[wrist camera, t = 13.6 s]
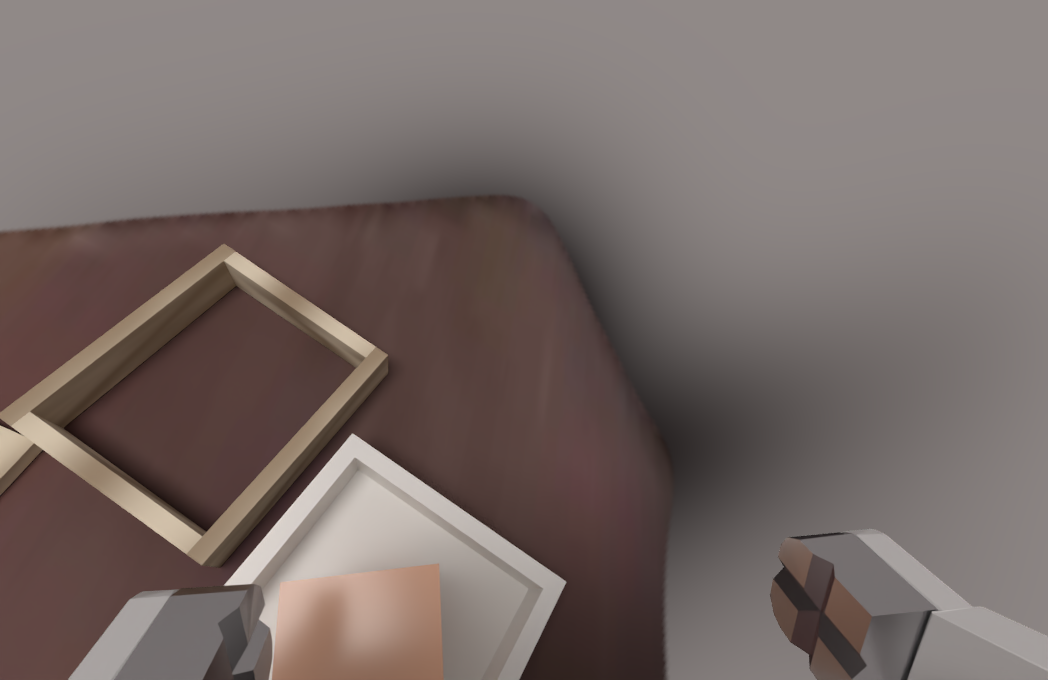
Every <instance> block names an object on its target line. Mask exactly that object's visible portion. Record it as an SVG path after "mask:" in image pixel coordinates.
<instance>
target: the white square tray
mask: <svg viewBox="0 0 1048 680" xmlns="http://www.w3.org/2000/svg"><path fill="white" fill-rule="evenodd" d="M430 564H439V574H440V600H441V626H442V652H443V677H444V680H519V679H520V677H521V675H522V673H523V671H524V669H525V667H526V664H527V662H528V660H529V658H530V656H531V654H532V652H533V650H534V648H535V646H536V644H537V642H538V640H539V638H540V636H541V633H542V631H543V629H544V627H545V625H546V623H547V621H548V619H549V617H550V615H551V613H552V611H553V609H554V607H555V605H556V603H557V600H558V598H559V596H560V594H561V592H562V590H563V588H564V586H565V584H566V581H564V580H563V579H562V578H560V577H559V576H557V575H556V574H554V573H553V572H551V571H550V570H549V569H547V568H546V567H544V566H543V565H541V564H540V563H539V562H537V561H536V560H534V559H533V558H531V557H530V556H528V555H527V554H526V553H524V552H523V551H521V550H520V549H518V548H517V547H515V546H514V545H513V544H511V543H510V542H508V541H507V540H505V539H504V538H502V537H501V536H500V535H498V534H497V533H495V532H494V531H492V530H491V529H490V528H488V527H487V526H485V525H484V524H482V523H481V522H479V521H478V520H477V519H475V518H474V517H472V516H471V515H469V514H468V513H466V512H465V511H464V510H462V509H461V508H459V507H458V506H456V505H455V504H453V503H452V502H451V501H449V500H448V499H446V498H445V497H443V496H442V495H441V494H439V493H438V492H436V491H435V490H433V489H432V488H430V487H429V486H428V485H426V484H425V483H423V482H422V481H420V480H419V479H417V478H416V477H415V476H413V475H412V474H410V473H409V472H407V471H406V470H405V469H403V468H402V467H400V466H399V465H397V464H396V463H394V462H393V461H392V460H390V459H389V458H387V457H386V456H384V455H383V454H381V453H380V452H379V451H377V450H376V449H374V448H373V447H371V446H370V445H368V444H367V443H366V442H364V441H363V440H361V439H360V438H358V437H357V436H356V435H354V434H353V433H352V435H351V436H350V437H349V438H348V439H347V441H346V442H345V443H344V444H343V445H342V446H341V448H340V449H339V450H338V451H337V452H336V454H335V455H334V456H333V457H332V458H331V459H330V461H329V462H328V463H327V464H326V465H325V467H324V468H323V469H322V470H321V471H320V473H319V474H318V475H317V476H316V477H315V478H314V480H313V481H312V482H311V483H310V484H309V486H308V487H307V488H306V489H305V490H304V491H303V493H302V494H301V495H300V496H299V497H298V499H297V500H296V501H295V502H294V503H293V504H292V506H291V507H290V508H289V509H288V510H287V512H286V513H285V514H284V515H283V516H282V517H281V519H280V520H279V521H278V522H277V523H276V525H275V526H274V527H273V528H272V529H271V531H270V532H269V533H268V534H267V535H266V536H265V538H264V539H263V540H262V541H261V542H260V544H259V545H258V546H257V547H256V548H255V549H254V551H253V552H252V553H251V554H250V555H249V557H248V558H247V559H246V560H245V561H244V562H243V564H242V565H241V566H240V567H239V568H238V570H237V571H236V572H235V573H234V574H233V575H232V577H231V578H230V579H229V580H228V581H227V583H226V584H225V585H224V586H228V585H244V584H256V585H259V586H261V589H262V593H263V597H264V601H265V606H264V609H263V611H262V613H261V616H260V618H259V620H260V621H262V622H263V623H264V624H265V625H267V626H268V627H269V628H270V631H271V637H272V664H271V669H270V675H269V680H272V671H273V660H274V648H275V636H276V625H277V613H278V602H279V590H280V582H286V581H295V580H303V579H312V578H320V577H329V576H337V575H346V574H354V573H363V572H371V571H380V570H388V569H397V568H405V567H413V566H422V565H430Z"/></svg>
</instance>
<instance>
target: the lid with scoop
mask: <svg viewBox="0 0 1048 680" xmlns="http://www.w3.org/2000/svg"><path fill="white" fill-rule="evenodd" d="M42 450H43V449H41V448H40V447H39V446H37V445H36V444H35V443H33V442H32V441H30V440H29V439H28V438H26V437H25V436H23V435H21V434H19V433H16V432H14V431H12V430H10V429H7V428H5V427H3V426H1V425H0V495H1V494H2V493H3V492H4V491H5V490H6V489H7V488H8V487H9V486H10V485H11V483H12V482H13V481H14V480H15V479H16V478H17V477H18V476H19V475H20V474H21V473H22V472H23V471H24V469H25V468H26V467H27V466H28V465H29V464H30V463H31V462H32V461H33V460H34V459H35V458H36V457H37V455H38V454H39V453H40V452H41V451H42Z"/></svg>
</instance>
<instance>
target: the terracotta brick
mask: <svg viewBox="0 0 1048 680" xmlns="http://www.w3.org/2000/svg"><path fill="white" fill-rule="evenodd" d="M272 680H444V677H443V652H442V626H441V600H440V574H439V564H430V565H422V566H413V567H405V568H397V569H388V570H380V571H371V572H363V573H354V574H346V575H337V576H329V577H320V578H312V579H303V580H295V581H286V582H280V590H279V602H278V613H277V625H276V636H275V648H274V660H273V671H272Z"/></svg>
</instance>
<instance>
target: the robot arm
mask: <svg viewBox="0 0 1048 680" xmlns="http://www.w3.org/2000/svg"><path fill="white" fill-rule="evenodd" d="M778 557H779V559H780V561H781V563H782V564H783V566H784V568H783V569H782V570H781V571H780V572H779V573H778V574H777V575H776V576H775V577H774V579H773V582H772V588H771V594H770V597H771V602H772V607H773V612H774V615H775V617H776V619H777V621H778V624H779V626H780V628H781V629H782V631H783V632H784V634H785V635H786V636H787V638H788V639H789V641H790V642H791V643H793V644H794V645H796V646H797V647H799V648H800V649H802V650H803V651H805V652H806V653H808V654H809V663H810V670H811V671H812V673H813V674H814V676H815V677H816V678H817V680H1048V636H1046V635H1044V634H1042V633H1039V632H1037V631H1035V630H1033V629H1031V628H1029V627H1026V626H1024V625H1022V624H1020V623H1018V622H1015V621H1013V620H1011V619H1009V618H1007V617H1005V616H1002V615H1000V614H998V613H996V612H994V611H991V610H989V609H987V608H985V607H983V606H981V607H972V606H971V605H970V604H968V603H967V602H966V601H965V600H964V599H963V598H961V597H960V596H959V595H958V594H956V593H955V592H954V591H953V590H952V589H951V588H949V587H948V586H947V585H946V584H945V583H943V582H942V581H941V580H940V579H938V578H937V577H936V576H935V575H934V574H933V573H931V572H930V571H929V570H928V569H927V568H925V567H924V566H923V565H922V564H921V563H919V562H918V561H917V560H916V559H915V558H913V557H912V556H911V555H910V554H908V553H907V552H906V551H905V550H904V549H902V548H901V547H900V546H899V545H898V544H897V543H895V542H894V541H893V540H892V539H890V538H889V537H888V536H887V535H886V534H884V533H882V532H880V531H877V530H875V529H864V530H854V531H845V532H842V533H840V532H837V533H828V534H817V535H807V536H796V537H787V538H786V540H785V541H784V542H783V543H782V544H781V547H780V551H779V555H778ZM264 606H265V601H264V597H263V593H262V589H261V586H259V585H256V584H244V585H228V586H212V587H196V588H181V589H180V590H163V591H144V592H141V593H139V594H137V595H136V596H134V597H133V598H131V599H130V600H129V601H128V602H127V603H126V605H125V606H124V607H123V608H122V610H121V611H120V612H119V614H118V615H117V616H116V618H115V619H114V620H113V621H112V623H111V624H110V625H109V627H108V628H107V629H106V631H105V632H104V633H103V634H102V636H101V637H100V638H99V640H98V641H97V642H96V644H95V645H94V646H93V648H92V649H91V650H90V651H89V653H88V654H87V655H86V657H85V658H84V659H83V661H82V662H81V663H80V664H79V666H78V667H77V668H76V670H75V671H74V672H73V674H72V675H71V676H70V677H69V679H68V680H269V675H270V669H271V664H272V637H271V631H270V628H269V627H268V626H267V625H265V624H264V623H263V622H262V621H260V620H259V618H260V616H261V613H262V611H263V609H264Z"/></svg>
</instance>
